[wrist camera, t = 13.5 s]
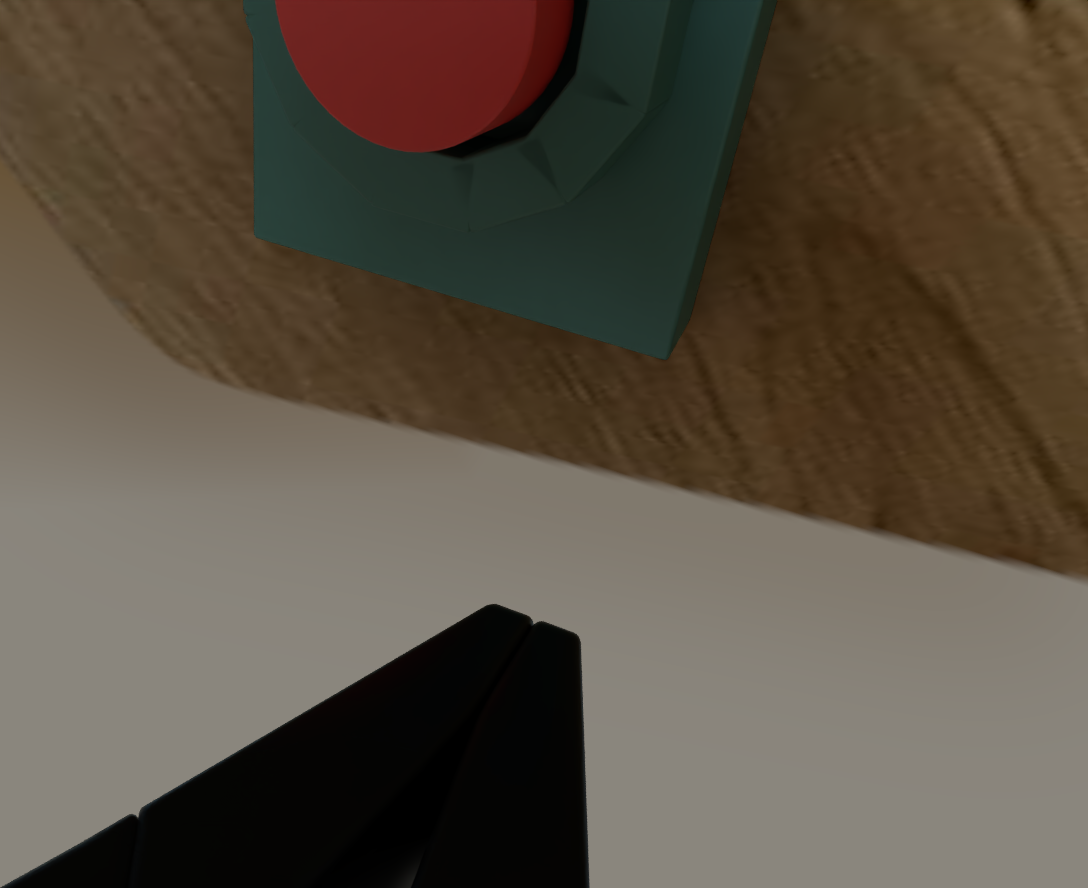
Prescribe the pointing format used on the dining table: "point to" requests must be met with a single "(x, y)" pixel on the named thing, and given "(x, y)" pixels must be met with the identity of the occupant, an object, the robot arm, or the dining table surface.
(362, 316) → the dining table surface
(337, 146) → the button box
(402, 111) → the button
